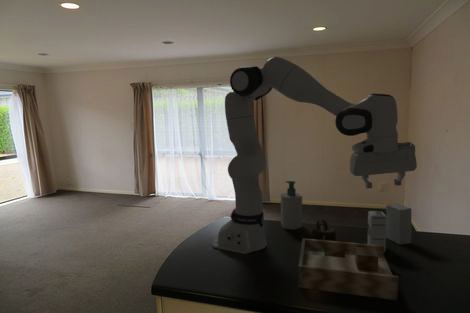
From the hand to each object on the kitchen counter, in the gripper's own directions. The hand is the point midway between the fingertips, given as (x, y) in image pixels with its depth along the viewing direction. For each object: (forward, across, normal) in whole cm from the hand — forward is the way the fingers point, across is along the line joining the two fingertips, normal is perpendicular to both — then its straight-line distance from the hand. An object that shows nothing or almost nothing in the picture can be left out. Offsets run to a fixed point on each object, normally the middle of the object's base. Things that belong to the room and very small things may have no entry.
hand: (383, 186), depth 99 cm
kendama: (+30, +13, -30) cm, 44 cm away
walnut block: (+25, +8, +3) cm, 27 cm away
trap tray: (+29, +15, +2) cm, 32 cm away
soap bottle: (+29, +24, -44) cm, 58 cm away
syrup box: (+31, -5, -18) cm, 36 cm away
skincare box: (+32, -18, -25) cm, 44 cm away
